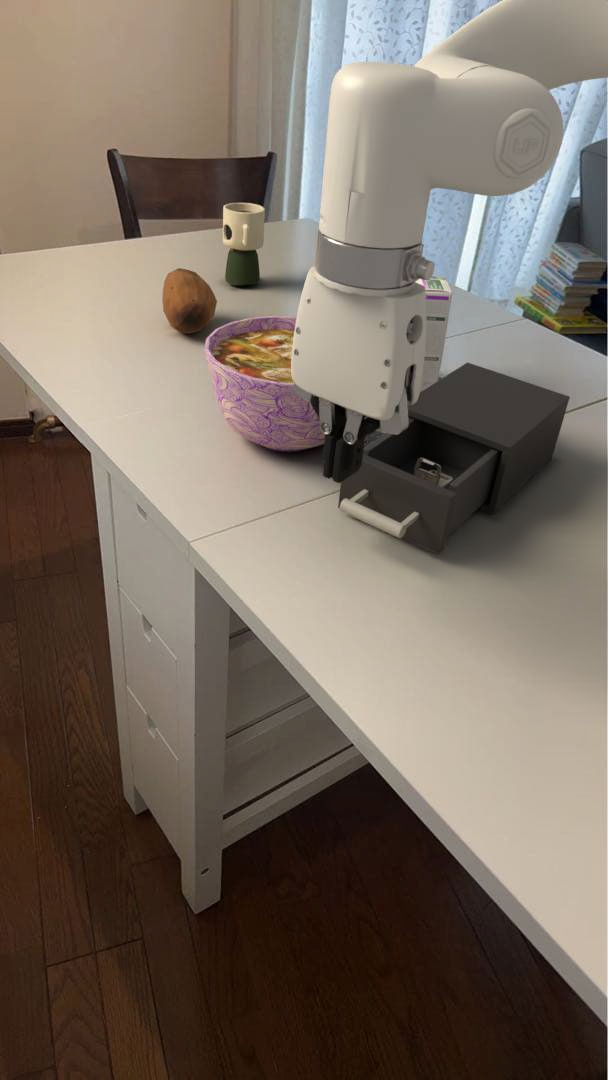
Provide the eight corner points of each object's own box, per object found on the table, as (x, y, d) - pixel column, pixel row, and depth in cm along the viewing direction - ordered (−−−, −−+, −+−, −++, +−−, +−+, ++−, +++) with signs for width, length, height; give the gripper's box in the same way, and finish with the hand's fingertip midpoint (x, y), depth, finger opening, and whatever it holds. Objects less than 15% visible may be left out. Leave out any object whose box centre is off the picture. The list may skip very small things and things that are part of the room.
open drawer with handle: (418, 574, 77) (429, 516, 73) (314, 524, 83) (320, 468, 79) (505, 492, 90) (518, 440, 86) (410, 454, 96) (419, 403, 92)
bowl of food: (396, 457, 97) (411, 368, 90) (249, 493, 88) (252, 398, 81) (314, 389, 111) (320, 307, 104) (179, 414, 102) (177, 327, 95)
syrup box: (437, 393, 112) (455, 291, 104) (395, 390, 112) (410, 288, 103) (431, 376, 117) (449, 277, 108) (391, 373, 117) (405, 274, 108)
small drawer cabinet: (493, 515, 88) (510, 447, 83) (389, 471, 94) (399, 405, 89) (551, 459, 99) (570, 396, 94) (454, 423, 105) (467, 362, 100)
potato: (201, 359, 123) (158, 336, 118) (188, 309, 132) (147, 285, 126) (231, 324, 120) (188, 299, 115) (216, 275, 128) (175, 249, 123)
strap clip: (431, 474, 90) (437, 441, 88) (454, 484, 89) (461, 451, 86) (390, 505, 85) (396, 470, 82) (415, 516, 83) (421, 481, 81)
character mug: (220, 273, 147) (220, 198, 140) (258, 273, 148) (261, 200, 141) (224, 293, 139) (225, 215, 131) (265, 294, 140) (268, 216, 132)
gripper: (481, 275, 58) (436, 489, 68) (314, 228, 64) (297, 430, 75) (430, 299, 53) (391, 526, 63) (255, 245, 59) (246, 459, 70)
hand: (340, 473), depth 69 cm, fingers closed
